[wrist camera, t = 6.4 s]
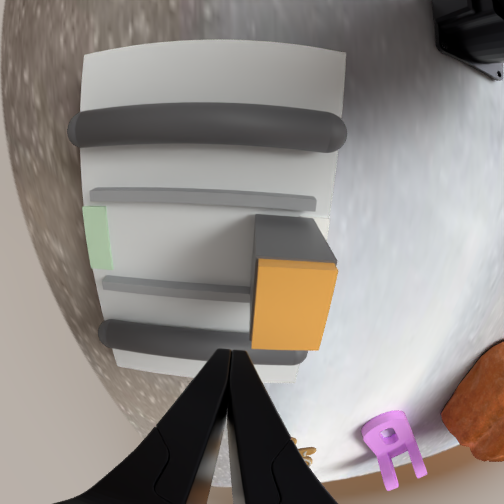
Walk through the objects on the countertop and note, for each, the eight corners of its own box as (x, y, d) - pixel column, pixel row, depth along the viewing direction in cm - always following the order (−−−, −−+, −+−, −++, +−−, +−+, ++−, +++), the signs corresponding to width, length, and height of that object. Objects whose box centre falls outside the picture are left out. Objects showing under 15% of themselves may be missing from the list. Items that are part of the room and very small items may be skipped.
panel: (335, 60, 14) (358, 44, 10) (292, 364, 23) (297, 403, 19) (100, 59, 13) (65, 49, 10) (125, 349, 22) (109, 384, 19)
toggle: (312, 218, 15) (341, 268, 10) (302, 284, 17) (320, 352, 12) (255, 213, 15) (256, 263, 10) (250, 281, 17) (249, 350, 12)
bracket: (414, 438, 31) (428, 476, 24) (380, 454, 32) (390, 492, 26) (400, 403, 26) (419, 453, 20) (355, 424, 28) (368, 475, 21)
